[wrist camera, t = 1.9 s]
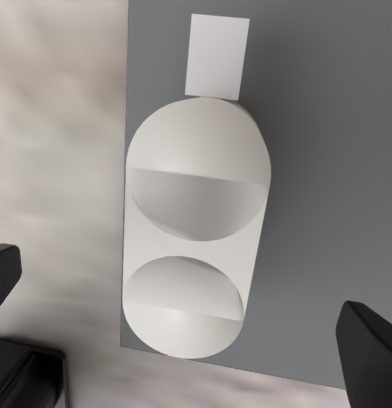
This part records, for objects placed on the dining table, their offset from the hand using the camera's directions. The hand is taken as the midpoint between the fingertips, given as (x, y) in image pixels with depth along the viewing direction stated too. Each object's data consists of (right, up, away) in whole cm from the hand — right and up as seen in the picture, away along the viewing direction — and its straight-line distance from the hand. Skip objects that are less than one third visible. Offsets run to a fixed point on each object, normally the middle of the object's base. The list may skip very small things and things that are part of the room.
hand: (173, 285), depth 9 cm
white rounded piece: (+1, +4, +6) cm, 7 cm away
